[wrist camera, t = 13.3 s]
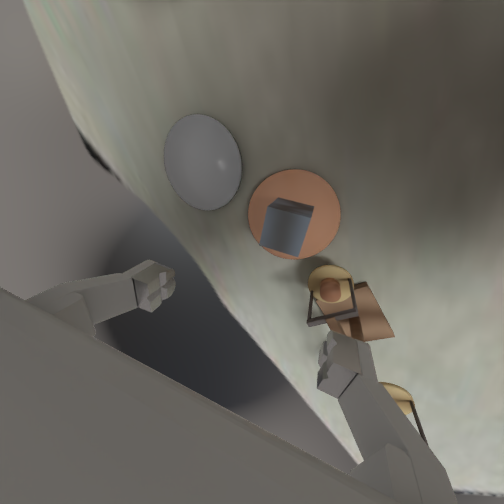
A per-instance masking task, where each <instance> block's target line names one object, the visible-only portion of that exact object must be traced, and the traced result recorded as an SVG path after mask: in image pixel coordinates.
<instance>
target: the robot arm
mask: <svg viewBox="0 0 504 504" xmlns="http://www.w3.org/2000/svg"><path fill="white" fill-rule="evenodd" d="M174 276H175V271H174V270H173V269H172V268H169V267H167V266H164V265H162V264H160V263H157V262H154V261H152V260H146V261H144V262H143V263H141V264H139V265H137V266H135V267H133V268H132V269H130V270H128V271H126V272H124V273H123V274H120V273H117V274H112V275H106V276H100V277H95V278H89V279H84V280H78V281H72V282H67V283H61V284H59V285H57V286H54V287H52V288H50V289H48V290H46V291H44V292H42V293H39V294H37V295H35V296H33V297H31V298H29V299H27V300H23V299H22V298H20V297H18V296H16V295H14V294H12V293H11V292H9V291H7V290H5V289H3V288H1V287H0V504H458V503H457V500H456V497H455V494H454V491H453V489H452V486H451V483H450V481H449V478H448V475H447V473H446V470H445V468H444V467H443V466H442V464H441V463H440V461H439V460H438V459H437V457H436V456H435V455H434V453H433V452H432V451H431V449H430V448H429V447H428V445H427V444H426V443H425V441H424V440H423V438H422V437H421V436H420V434H419V433H418V432H417V430H416V429H415V428H414V426H413V425H412V424H411V422H410V421H409V420H408V418H407V417H406V416H405V414H404V413H403V411H402V410H401V409H400V407H399V406H398V405H397V403H396V402H395V401H394V399H393V398H392V397H391V395H390V394H389V393H388V391H387V390H386V388H385V387H384V386H383V384H381V383H379V382H378V380H377V375H376V371H375V366H374V362H373V357H372V353H371V349H370V345H369V344H368V343H365V342H363V341H360V340H357V339H354V338H352V337H349V336H346V335H344V334H341V333H338V332H336V331H333V330H331V331H329V333H328V335H327V341H325V342H323V344H322V346H321V349H320V352H319V359H318V364H319V366H320V367H321V368H320V370H319V371H318V377H317V389H319V390H321V391H323V392H325V393H327V394H329V395H331V396H333V397H335V398H337V399H338V402H339V404H340V406H341V409H342V411H343V413H344V415H345V418H346V420H347V422H348V425H349V427H350V429H351V432H352V434H353V436H354V439H355V441H356V443H357V445H358V448H359V450H360V452H361V455H362V457H363V459H364V461H363V462H362V463H360V464H359V465H358V466H357V467H355V468H354V469H353V470H351V471H350V475H351V476H350V475H348V474H346V473H344V472H342V471H340V470H338V469H336V468H335V467H333V466H331V465H329V464H327V463H325V462H324V461H322V460H320V459H318V458H316V457H314V456H313V455H311V454H309V453H307V452H305V451H303V450H301V449H299V448H298V447H296V446H294V445H292V444H290V443H288V442H287V441H285V440H283V439H281V438H279V437H277V436H275V435H274V434H272V433H270V432H268V431H266V430H264V429H263V428H261V427H259V426H257V425H255V424H253V423H251V422H250V421H247V420H246V419H244V418H242V417H240V416H238V415H236V414H235V413H233V412H231V411H229V410H227V409H226V408H224V407H222V406H220V405H218V404H216V403H214V402H213V401H211V400H209V399H207V398H205V397H203V396H201V395H200V394H198V393H196V392H194V391H192V390H190V389H189V388H187V387H185V386H183V385H181V384H179V383H177V382H175V381H174V380H172V379H170V378H168V377H166V376H164V375H163V374H161V373H159V372H157V371H155V370H153V369H151V368H150V367H147V366H146V365H144V364H142V363H140V362H138V361H137V360H135V359H133V358H131V357H129V356H127V355H125V354H124V353H122V352H120V351H118V350H116V349H114V348H112V347H111V346H109V345H107V344H105V343H103V342H101V341H99V340H98V339H96V338H94V337H93V336H94V335H95V333H96V331H95V328H94V324H96V323H99V322H102V321H104V320H107V319H109V318H112V317H114V316H117V315H120V314H122V313H125V312H127V311H130V310H132V309H135V308H137V307H140V308H142V309H144V310H147V311H149V312H152V311H153V310H155V309H156V308H157V307H158V306H159V305H161V303H162V300H164V299H167V298H169V297H170V296H171V295H172V293H173V291H174V290H175V281H174V279H173V277H174Z"/></svg>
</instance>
